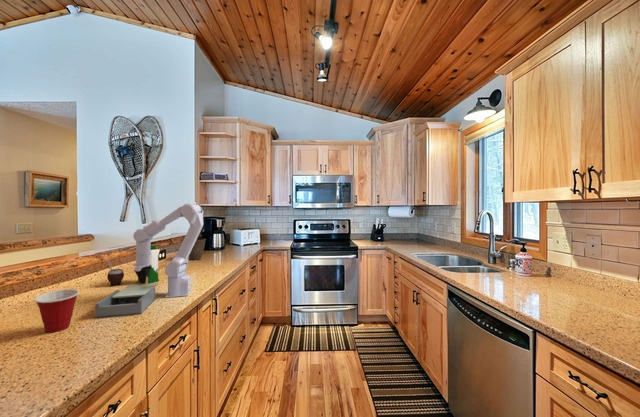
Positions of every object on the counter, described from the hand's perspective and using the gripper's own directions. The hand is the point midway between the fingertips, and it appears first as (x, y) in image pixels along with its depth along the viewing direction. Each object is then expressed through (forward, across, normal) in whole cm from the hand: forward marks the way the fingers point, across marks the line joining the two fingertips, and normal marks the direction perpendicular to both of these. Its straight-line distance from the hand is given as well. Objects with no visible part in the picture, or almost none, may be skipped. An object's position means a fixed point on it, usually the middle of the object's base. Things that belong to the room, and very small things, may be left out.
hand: (143, 283), depth 124 cm
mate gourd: (+6, -22, -20) cm, 30 cm away
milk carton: (+6, -24, -5) cm, 25 cm away
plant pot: (+6, -86, +9) cm, 87 cm away
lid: (+1, +8, 0) cm, 8 cm away
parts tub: (+6, +17, 0) cm, 18 cm away
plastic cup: (+6, +32, -15) cm, 36 cm away
